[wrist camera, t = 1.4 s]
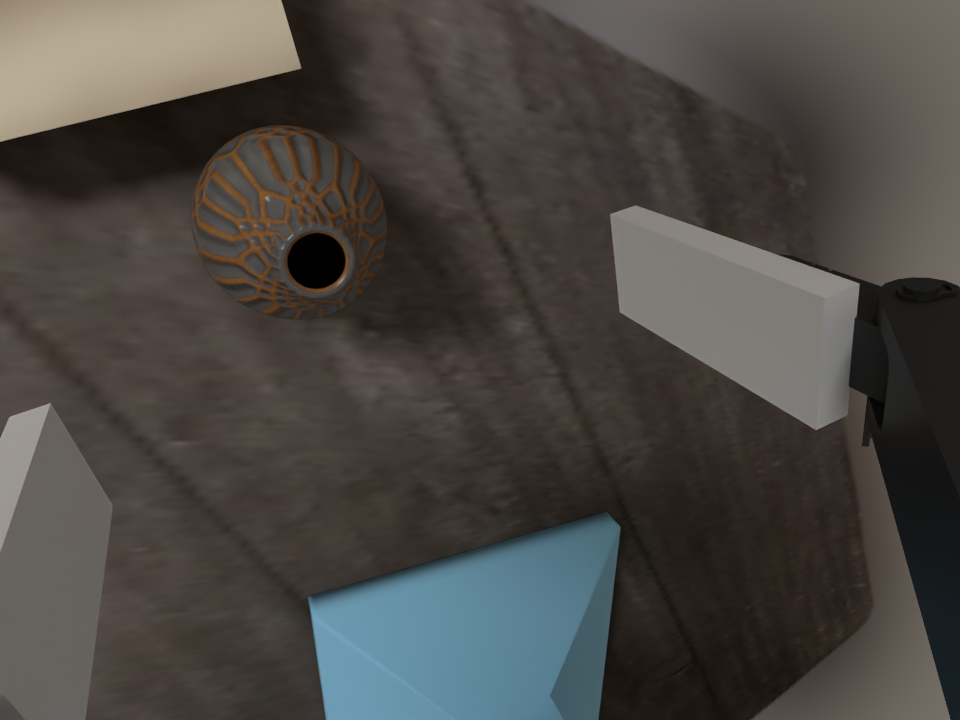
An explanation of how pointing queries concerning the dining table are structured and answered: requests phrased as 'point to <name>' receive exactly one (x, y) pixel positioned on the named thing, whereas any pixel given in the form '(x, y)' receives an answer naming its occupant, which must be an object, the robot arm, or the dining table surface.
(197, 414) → the dining table surface
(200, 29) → the stepped riser
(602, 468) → the dining table surface
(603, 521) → the vase
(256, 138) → the vase
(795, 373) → the robot arm
